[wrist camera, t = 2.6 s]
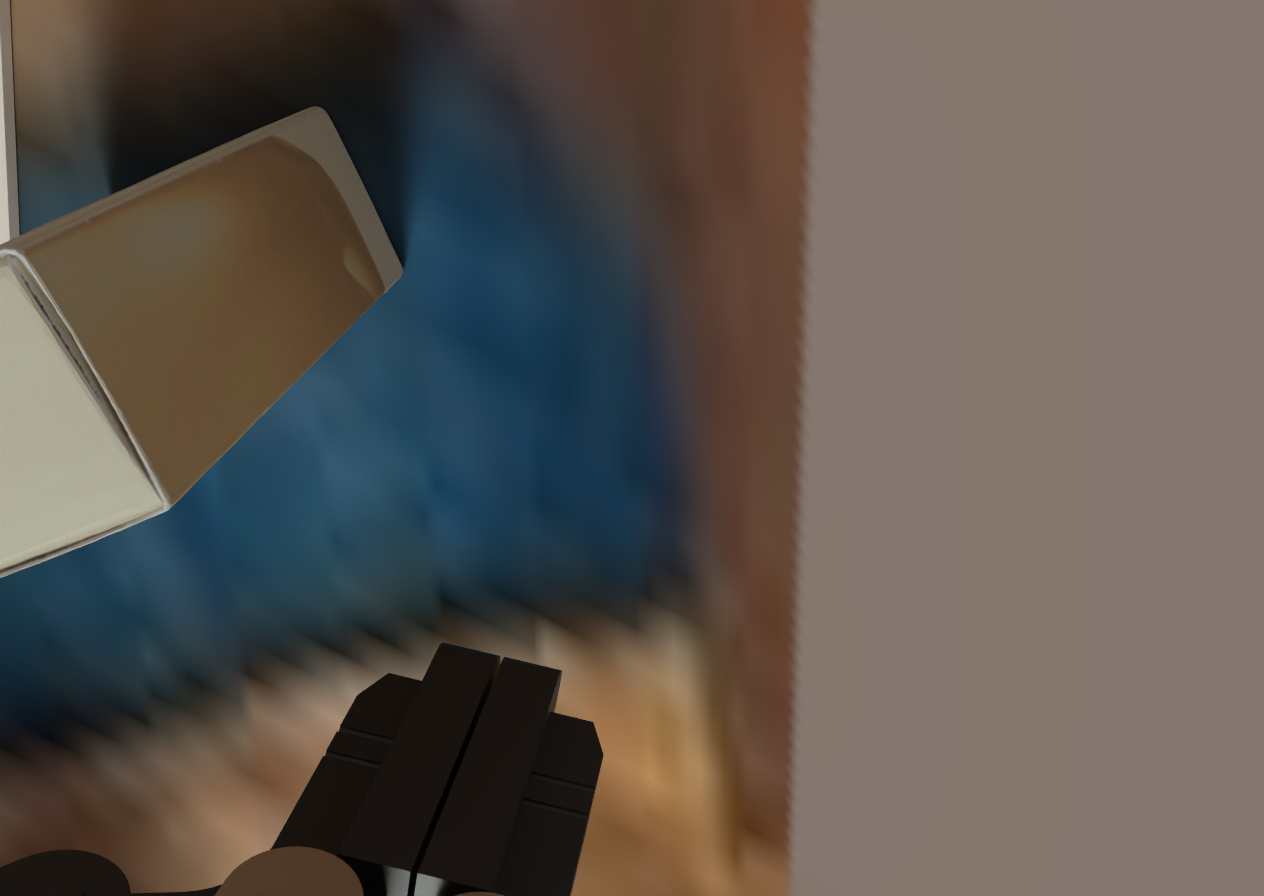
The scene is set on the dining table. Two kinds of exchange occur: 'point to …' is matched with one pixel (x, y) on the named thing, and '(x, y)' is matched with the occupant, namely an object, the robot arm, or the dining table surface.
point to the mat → (7, 133)
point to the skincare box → (172, 327)
